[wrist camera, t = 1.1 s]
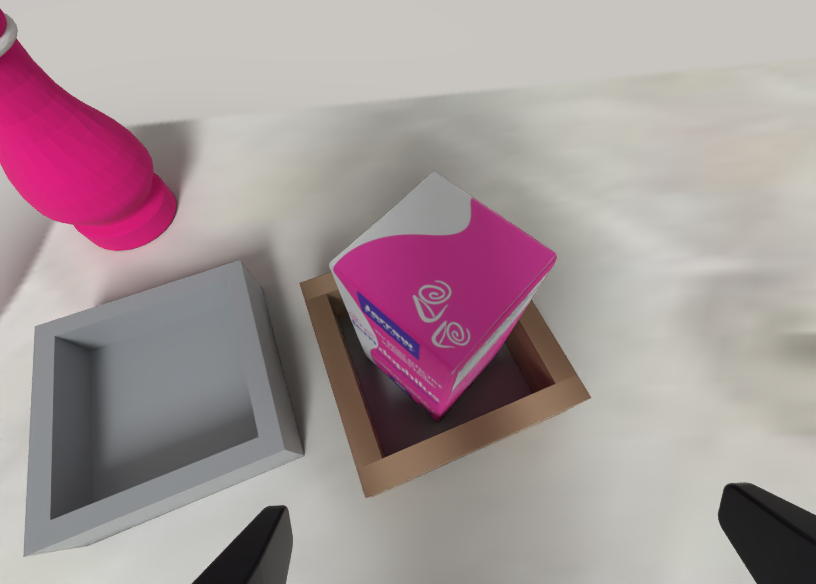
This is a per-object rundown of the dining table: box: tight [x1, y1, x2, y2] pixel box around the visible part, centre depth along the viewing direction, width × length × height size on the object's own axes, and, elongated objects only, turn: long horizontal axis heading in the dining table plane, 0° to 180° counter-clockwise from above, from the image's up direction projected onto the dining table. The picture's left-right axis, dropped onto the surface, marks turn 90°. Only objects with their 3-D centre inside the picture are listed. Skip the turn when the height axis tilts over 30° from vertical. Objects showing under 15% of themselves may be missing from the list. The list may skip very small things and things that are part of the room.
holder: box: [300, 272, 591, 498], centre depth 22 cm, size 11×11×4 cm
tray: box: [23, 260, 304, 557], centre depth 21 cm, size 11×11×4 cm
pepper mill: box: [0, 9, 176, 251], centre depth 19 cm, size 7×7×20 cm
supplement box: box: [329, 171, 557, 422], centre depth 18 cm, size 6×6×12 cm
